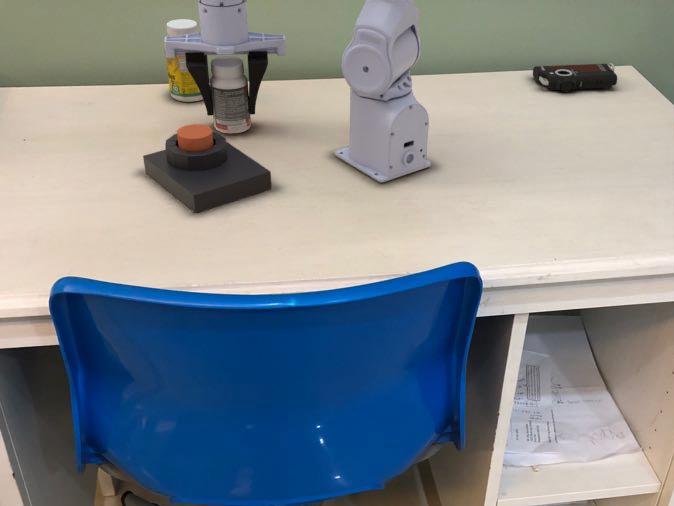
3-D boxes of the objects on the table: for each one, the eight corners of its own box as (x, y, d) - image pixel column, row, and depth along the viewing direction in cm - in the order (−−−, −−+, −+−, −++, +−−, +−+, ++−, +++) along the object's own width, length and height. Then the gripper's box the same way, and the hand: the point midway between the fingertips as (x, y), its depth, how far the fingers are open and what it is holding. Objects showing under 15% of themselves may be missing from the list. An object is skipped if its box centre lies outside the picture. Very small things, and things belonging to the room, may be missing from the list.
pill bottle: (256, 130, 112) (252, 64, 106) (222, 137, 110) (216, 70, 105) (242, 117, 115) (238, 52, 109) (208, 123, 113) (202, 58, 108)
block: (271, 188, 100) (270, 156, 98) (195, 213, 96) (191, 179, 93) (218, 152, 107) (215, 120, 105) (145, 173, 103) (140, 140, 100)
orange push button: (220, 147, 100) (218, 133, 99) (189, 156, 98) (187, 141, 97) (202, 135, 102) (201, 121, 101) (172, 143, 100) (170, 129, 99)
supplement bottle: (212, 100, 119) (205, 28, 113) (173, 104, 118) (164, 31, 112) (205, 86, 123) (198, 15, 117) (167, 89, 122) (158, 18, 116)
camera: (620, 75, 123) (545, 78, 123) (616, 93, 125) (542, 96, 125) (607, 55, 128) (534, 58, 127) (603, 74, 130) (531, 77, 129)
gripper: (157, 10, 99) (172, 126, 107) (285, 9, 100) (289, 123, 109) (161, -8, 104) (174, 103, 113) (282, -9, 105) (286, 101, 114)
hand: (231, 111), depth 111 cm, fingers closed on pill bottle, 5 cm apart
